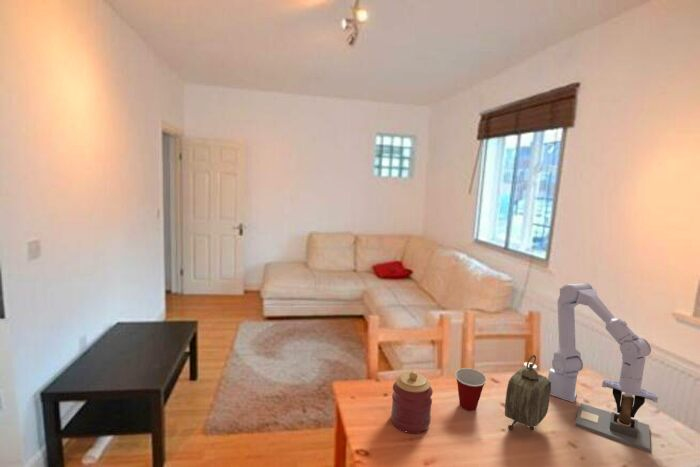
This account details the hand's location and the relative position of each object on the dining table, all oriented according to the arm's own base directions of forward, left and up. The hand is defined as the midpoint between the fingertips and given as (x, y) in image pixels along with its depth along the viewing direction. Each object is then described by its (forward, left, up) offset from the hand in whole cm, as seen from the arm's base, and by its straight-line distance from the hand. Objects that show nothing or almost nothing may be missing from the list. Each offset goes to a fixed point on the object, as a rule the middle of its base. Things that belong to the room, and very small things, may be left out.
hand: (625, 413), depth 126 cm
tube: (-29, -4, -6) cm, 30 cm away
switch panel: (-3, +1, -6) cm, 7 cm away
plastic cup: (-45, -20, -6) cm, 50 cm away
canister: (-57, -41, -6) cm, 71 cm away
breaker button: (0, 0, -4) cm, 4 cm away
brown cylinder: (0, 0, -3) cm, 3 cm away
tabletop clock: (-26, -19, -6) cm, 33 cm away
